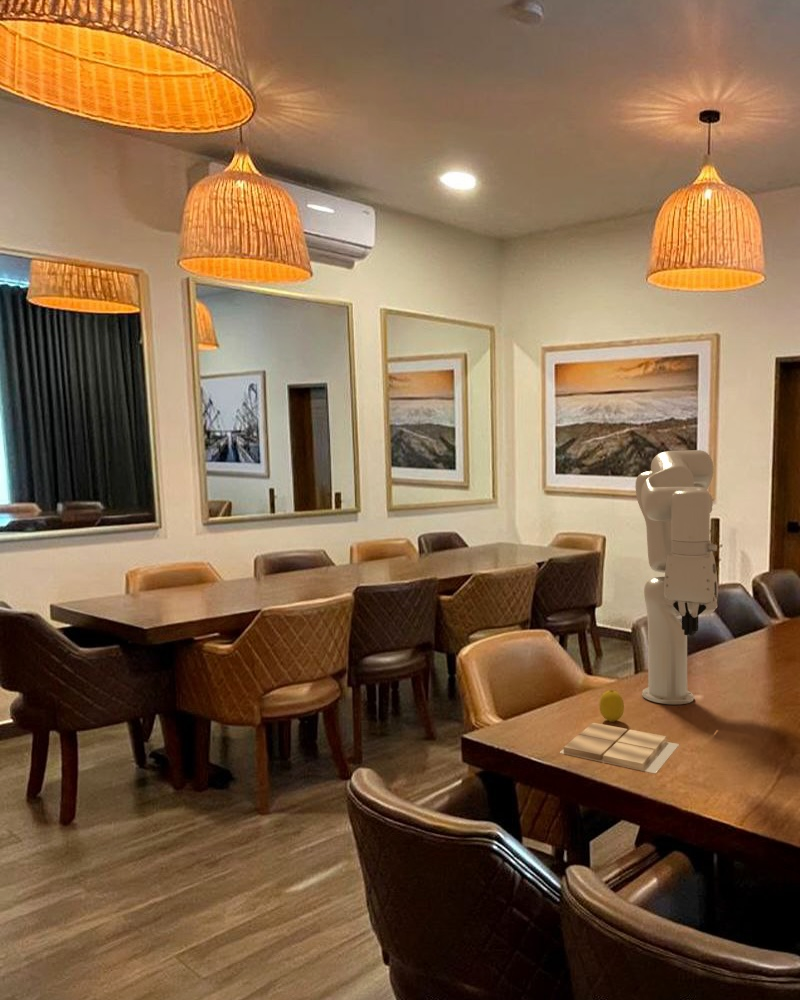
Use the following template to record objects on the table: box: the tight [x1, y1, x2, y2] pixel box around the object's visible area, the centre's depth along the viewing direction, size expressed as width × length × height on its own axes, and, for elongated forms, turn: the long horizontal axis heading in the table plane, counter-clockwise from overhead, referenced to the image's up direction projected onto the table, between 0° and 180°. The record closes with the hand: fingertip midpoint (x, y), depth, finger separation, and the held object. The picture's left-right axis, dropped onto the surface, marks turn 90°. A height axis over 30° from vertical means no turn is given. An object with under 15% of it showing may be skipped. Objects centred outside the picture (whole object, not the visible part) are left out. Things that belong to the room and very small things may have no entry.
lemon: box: [598, 688, 625, 723], centre depth 173 cm, size 6×6×8 cm
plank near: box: [603, 742, 655, 770], centre depth 151 cm, size 8×8×1 cm
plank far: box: [617, 729, 668, 755], centre depth 158 cm, size 8×8×1 cm
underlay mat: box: [559, 741, 680, 775], centre depth 156 cm, size 18×20×1 cm
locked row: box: [563, 722, 629, 761], centre depth 159 cm, size 18×8×1 cm, turn 145°
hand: (690, 633), depth 156 cm, fingers closed
